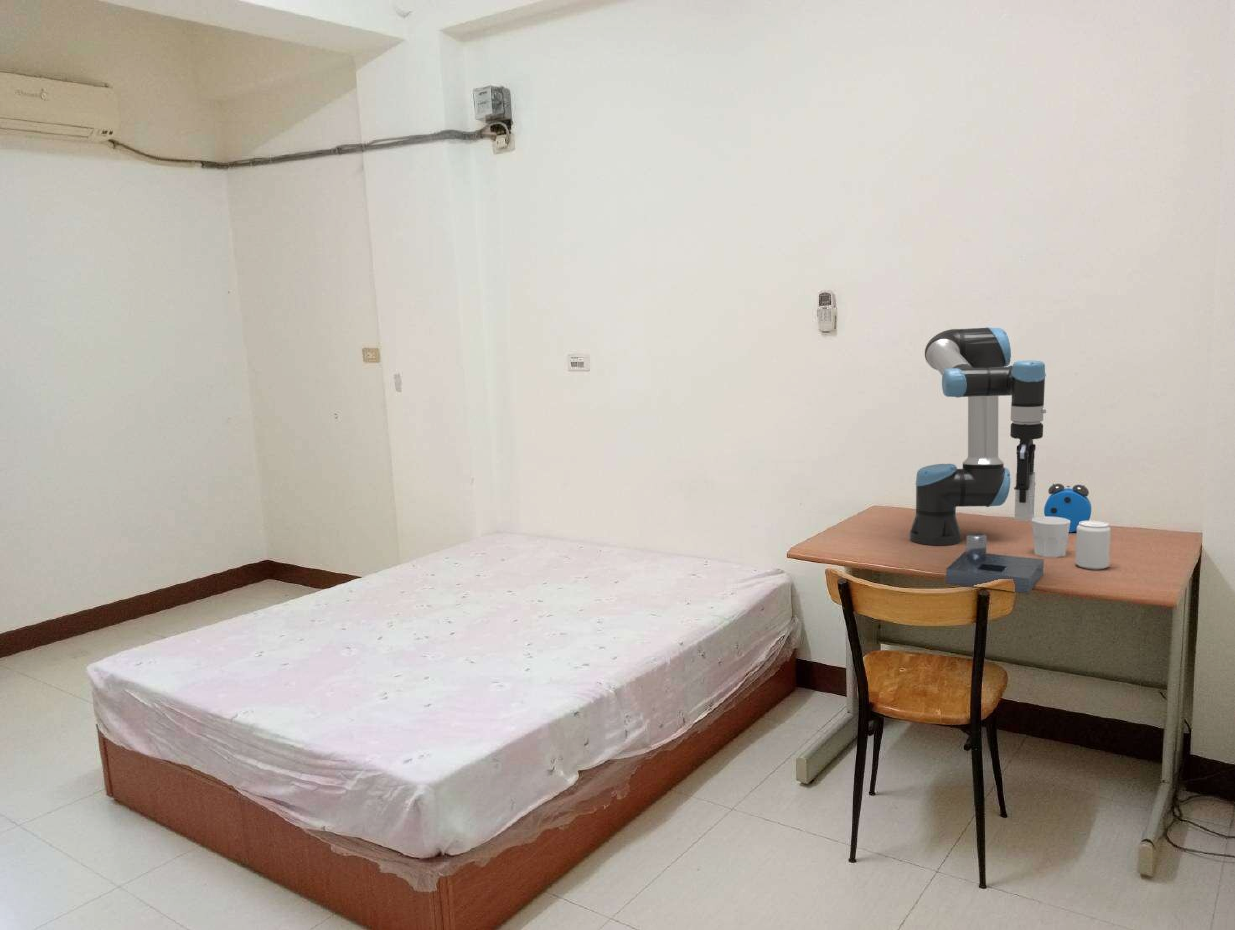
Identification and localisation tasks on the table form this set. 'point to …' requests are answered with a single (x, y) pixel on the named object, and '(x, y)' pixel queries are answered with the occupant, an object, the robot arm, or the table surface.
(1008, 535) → the table surface
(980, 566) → the slotted metal base
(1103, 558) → the beverage can
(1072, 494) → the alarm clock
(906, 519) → the table surface
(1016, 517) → the grey square peg
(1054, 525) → the cup
